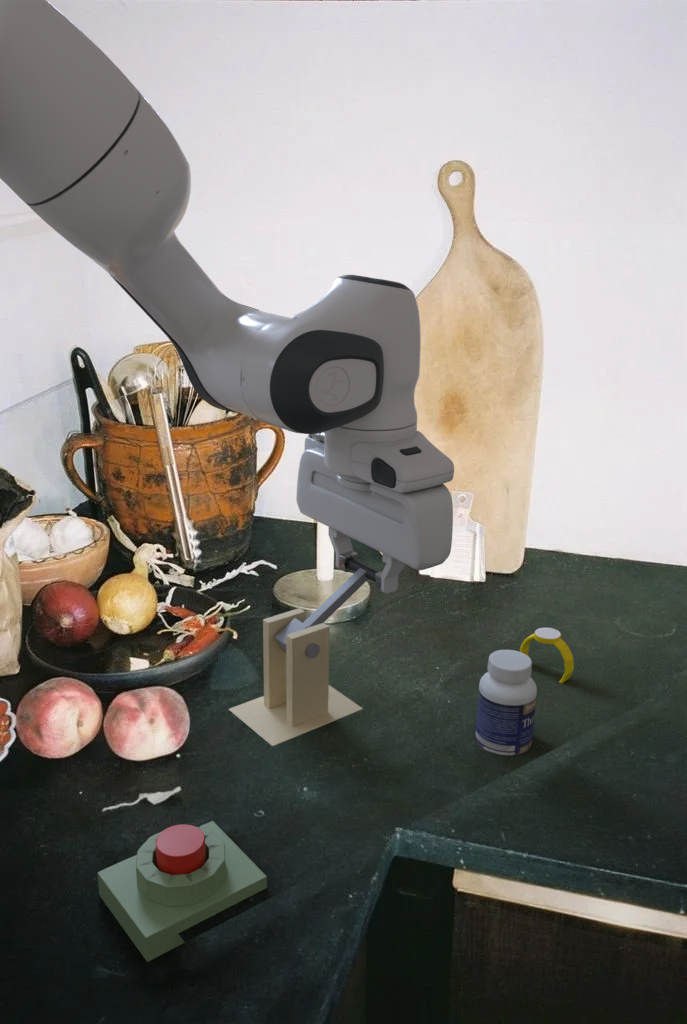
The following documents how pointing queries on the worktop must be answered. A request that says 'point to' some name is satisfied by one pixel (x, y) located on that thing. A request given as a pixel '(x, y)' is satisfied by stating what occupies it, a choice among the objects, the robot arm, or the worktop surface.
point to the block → (176, 891)
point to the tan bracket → (294, 683)
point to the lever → (331, 601)
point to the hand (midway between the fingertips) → (366, 579)
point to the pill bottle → (506, 704)
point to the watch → (554, 638)
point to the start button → (180, 849)
